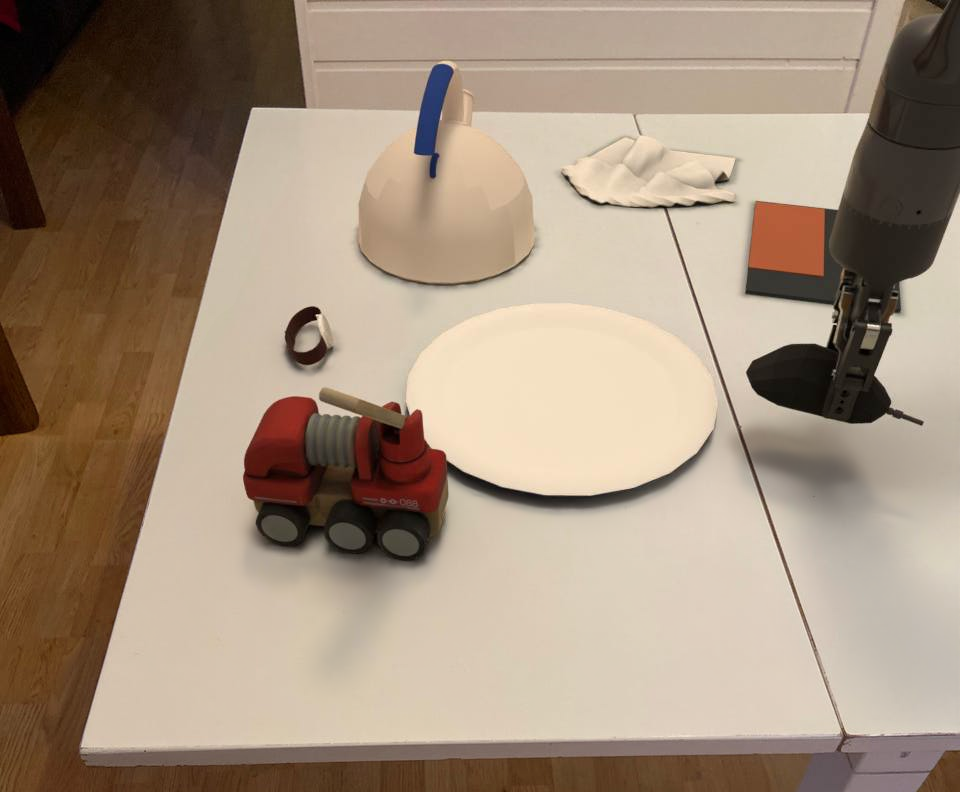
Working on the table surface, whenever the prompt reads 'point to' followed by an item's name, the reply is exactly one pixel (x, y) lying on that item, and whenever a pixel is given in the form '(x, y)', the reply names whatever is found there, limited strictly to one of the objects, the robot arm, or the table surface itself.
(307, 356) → the watch
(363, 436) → the toy fire truck
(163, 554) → the table surface
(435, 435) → the plate
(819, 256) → the mat
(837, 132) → the table surface
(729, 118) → the table surface
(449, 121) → the kettle
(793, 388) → the gaming mouse
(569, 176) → the cloth
